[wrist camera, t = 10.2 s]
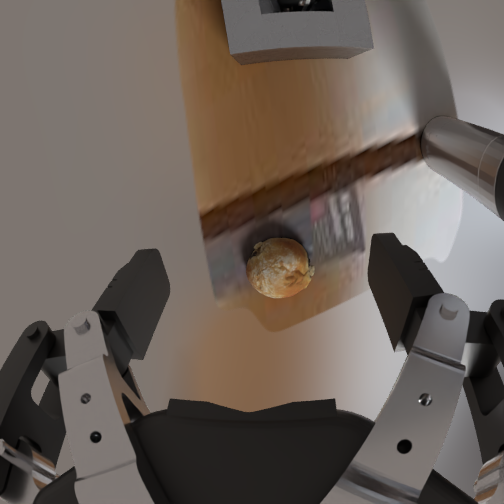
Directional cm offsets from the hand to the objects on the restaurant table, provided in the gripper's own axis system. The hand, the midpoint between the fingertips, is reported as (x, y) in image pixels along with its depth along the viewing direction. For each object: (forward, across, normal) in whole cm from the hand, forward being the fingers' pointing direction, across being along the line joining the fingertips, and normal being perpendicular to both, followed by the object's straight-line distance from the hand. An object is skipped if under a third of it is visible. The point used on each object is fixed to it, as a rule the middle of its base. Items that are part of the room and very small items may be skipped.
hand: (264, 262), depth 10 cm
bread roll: (+30, 0, +20) cm, 36 cm away
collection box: (+29, -4, -20) cm, 36 cm away
